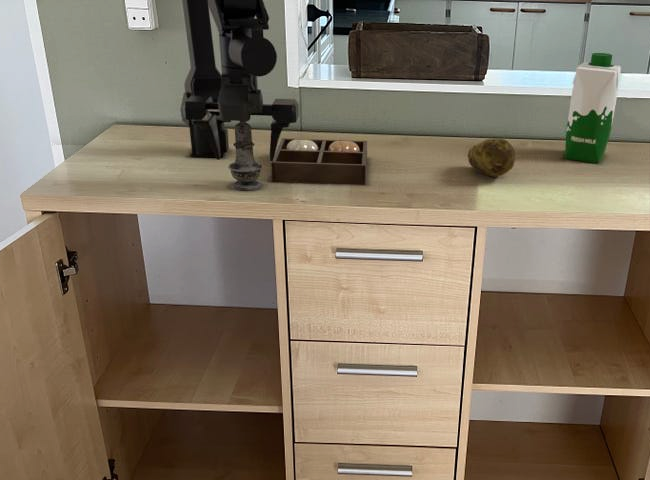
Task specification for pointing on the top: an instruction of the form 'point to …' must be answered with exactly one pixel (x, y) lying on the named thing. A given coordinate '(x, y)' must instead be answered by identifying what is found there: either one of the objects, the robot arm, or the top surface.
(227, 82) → the robot arm
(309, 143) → the cream egg
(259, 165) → the grey chess piece
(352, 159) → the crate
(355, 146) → the brown egg
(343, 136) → the top surface
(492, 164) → the potato
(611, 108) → the milk carton
